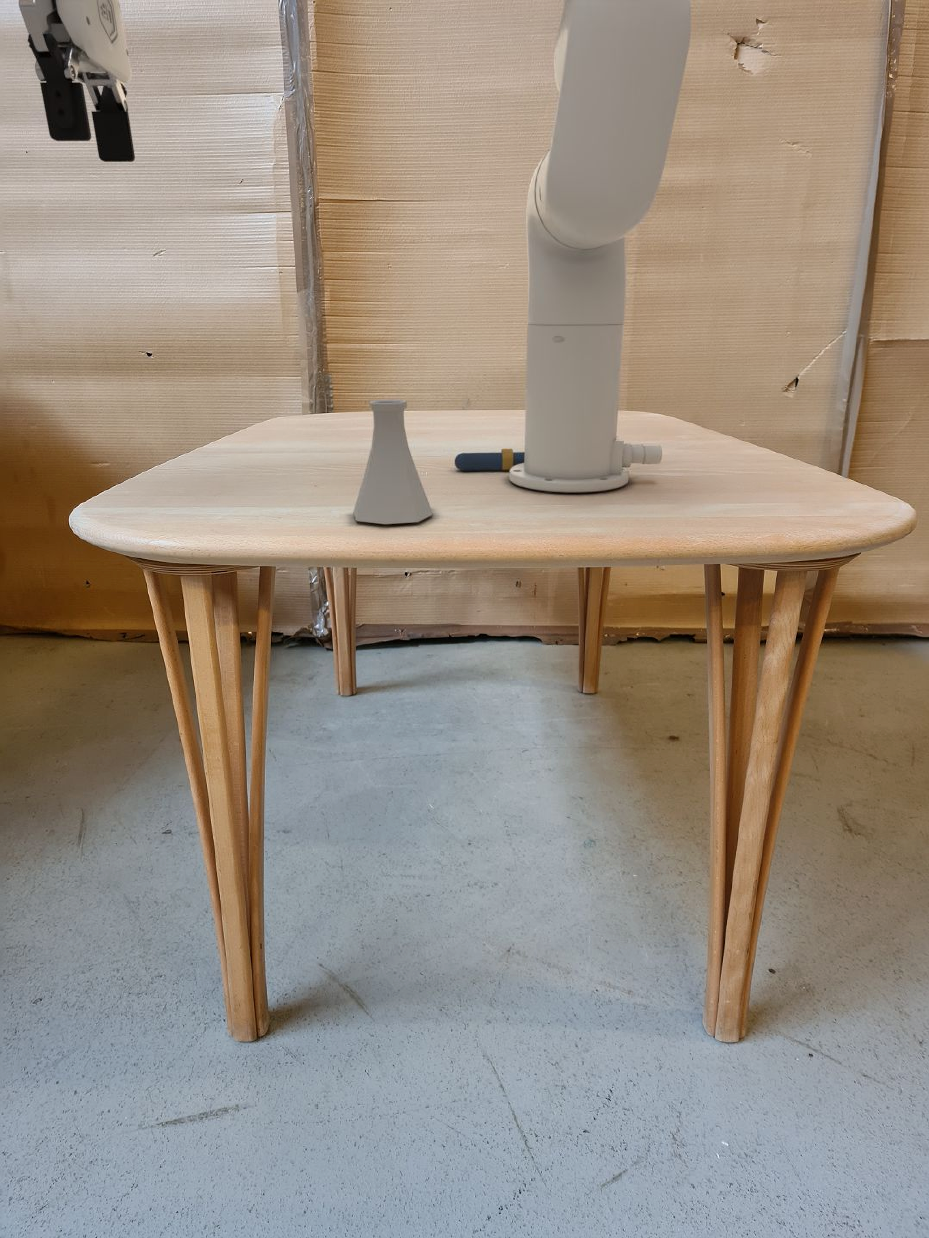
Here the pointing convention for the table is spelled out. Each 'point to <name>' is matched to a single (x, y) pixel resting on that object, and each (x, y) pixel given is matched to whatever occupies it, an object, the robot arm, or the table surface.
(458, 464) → the dark blue marker
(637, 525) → the table surface
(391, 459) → the flask
